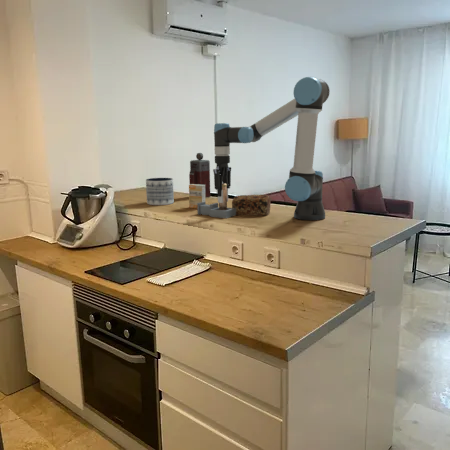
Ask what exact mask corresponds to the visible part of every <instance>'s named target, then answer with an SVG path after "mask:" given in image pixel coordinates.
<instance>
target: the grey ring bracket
mask: <svg viewBox="0 0 450 450" xmlns="http://www.w3.org/2000/svg"><path fill="white" fill-rule="evenodd" d="M196 209H197V215H201V214H202V215H203V216H209V217H211V218H219V219H229V218H231V217H234V216H236V208H232V207H228V206H227V210H219V203H218V202H214V203H210V204H207V203H206V201H205V202H201V203H197V208H196ZM202 215H201V216H202Z"/></svg>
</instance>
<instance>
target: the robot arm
mask: <svg viewBox="0 0 450 450" xmlns="http://www.w3.org/2000/svg"><path fill="white" fill-rule="evenodd" d="M293 97H294V98H292V100H290V101H289V102H288V101H287V103H285V104H283V105H282V106H280V107H279V108H277V109H276V110H274V111H271V112H270V113H269V114H266V116H265V117H262V118H261V119H260V120H257V122H255V123H253V124H252V125H249V126H233V127H232V126H230V123H228V122H226V123H225V122H223V123H218V122H216V123H215V124H214V125H213V131H214V132H213V137H214V138H213V139H214V163H215V164H216V168H213V169H212V172H213V175H214V176H213V177H214V178H213V182H214V183H213V184H214V189H215V190H217V203H218V204H219V203H223V190H222V183H226V184H227V203H228V202H229V189H231V186H232V185H231V180H232V179H231V173H232V167H231V166H229V164H230V163H231V156H230V154H231V151H230V150H231V148H230V146H231V145H230V144H250V143H256V142H259V141H260V140H261V139H262V137H264V136H266V135H267V134H269V133H271V132H272V131H274V130H275V129H277V128H279V127H281V126H282V125H285V124H286V123H287V122H290V120H293V119H294V118H296V117H297V124H296V125H297V126H296V137H295V147H294V157H293V167H291V168H290V170H289V175H288V178H287V180H286V182H285V184H284V190H285V191H284V192H285V194H286V196H288V198H289V199H290V200H292V201H294V202H296V206H295V208H294V211H293V217H294V219H297V220H301V221H302V220H303V221H317V220H318V221H319V220H323V219H325V218H326V211H325V208H324V204H323V187H324V186H323V181H324V176H323V175H324V173H323V172H322V171H321V170H314V168H313V167H314V166H313V165H314V158H315V157H314V156H315V147H316V140H317V139H316V137H317V128H318V121H319V120H318V117H319V114H320V113H321V112H322V111H323V104H325V102H326V101H328V99H329V97H330V87H329V85H328V82H326V81H325V80H323V79H321V78H317V77H314V76H306V77H303V78H300V79H299V80H298V81H297V82H296V83H295V85H294V88H293Z"/></svg>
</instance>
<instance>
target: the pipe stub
mask: <svg viewBox="0 0 450 450" xmlns="http://www.w3.org/2000/svg"><path fill="white" fill-rule="evenodd" d="M222 190H223V203H218V207H219V210H227V207H228V202H227V184H226V183H222Z"/></svg>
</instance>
